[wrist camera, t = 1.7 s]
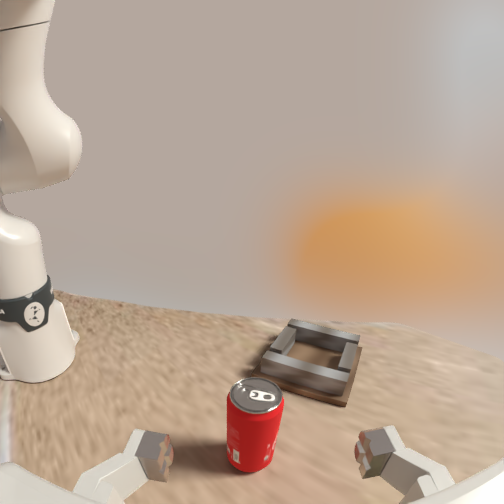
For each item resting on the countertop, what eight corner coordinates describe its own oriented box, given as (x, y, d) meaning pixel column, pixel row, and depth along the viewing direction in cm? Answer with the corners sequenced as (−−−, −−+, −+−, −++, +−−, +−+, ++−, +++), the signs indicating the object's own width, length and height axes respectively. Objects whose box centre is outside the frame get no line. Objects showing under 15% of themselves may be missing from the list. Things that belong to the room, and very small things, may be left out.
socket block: (251, 378, 41) (252, 358, 40) (286, 332, 54) (288, 314, 53) (345, 407, 35) (352, 388, 34) (360, 351, 48) (366, 333, 47)
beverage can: (233, 438, 30) (235, 370, 26) (275, 446, 29) (288, 380, 25) (221, 469, 25) (219, 407, 22) (267, 479, 24) (280, 419, 21)
